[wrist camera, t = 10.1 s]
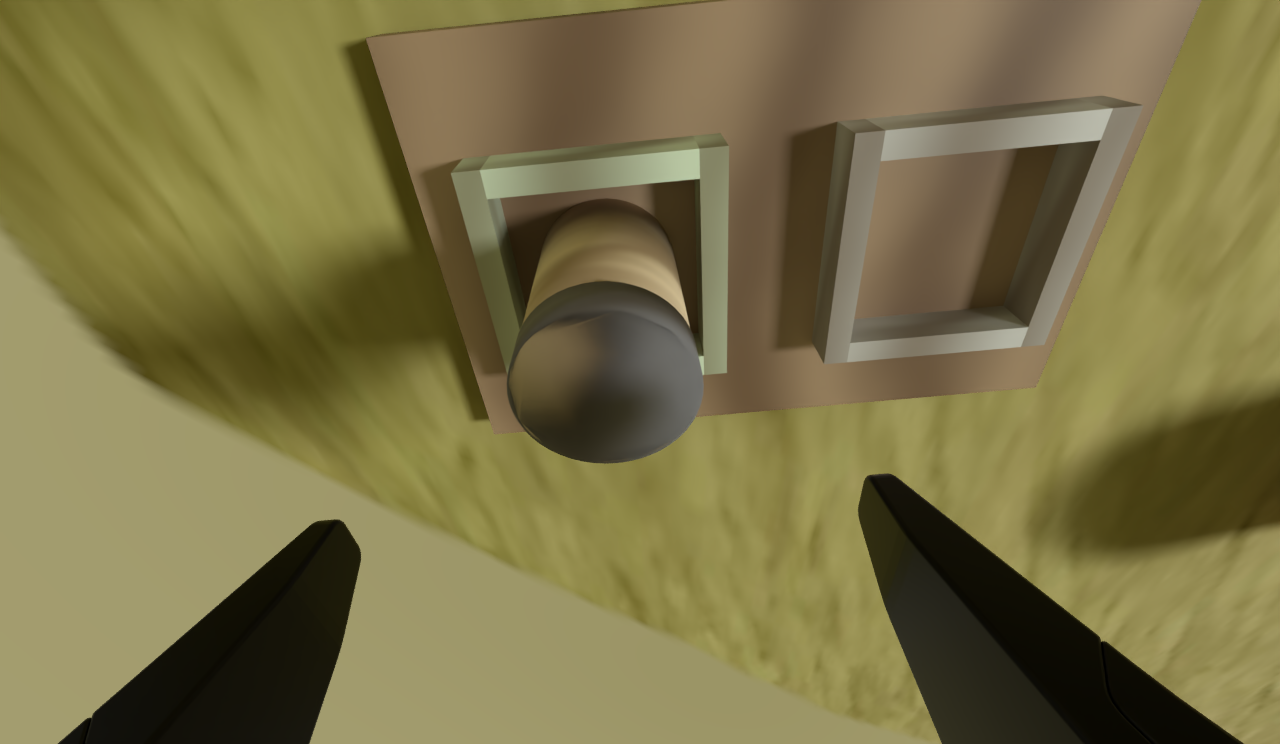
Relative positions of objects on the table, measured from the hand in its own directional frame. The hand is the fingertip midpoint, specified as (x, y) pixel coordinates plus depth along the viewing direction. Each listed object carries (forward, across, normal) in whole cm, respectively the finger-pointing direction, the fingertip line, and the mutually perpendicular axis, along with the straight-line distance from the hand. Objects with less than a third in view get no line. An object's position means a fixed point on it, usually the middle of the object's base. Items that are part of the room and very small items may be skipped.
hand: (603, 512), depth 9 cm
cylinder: (+11, 0, 0) cm, 11 cm away
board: (+12, -5, 0) cm, 13 cm away
